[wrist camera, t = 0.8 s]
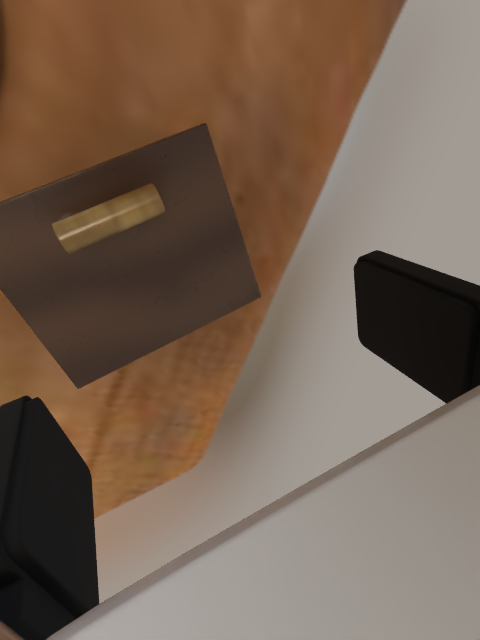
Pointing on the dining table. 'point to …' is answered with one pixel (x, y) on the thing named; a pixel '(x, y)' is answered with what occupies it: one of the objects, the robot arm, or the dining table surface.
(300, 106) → the dining table surface
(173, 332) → the lid
